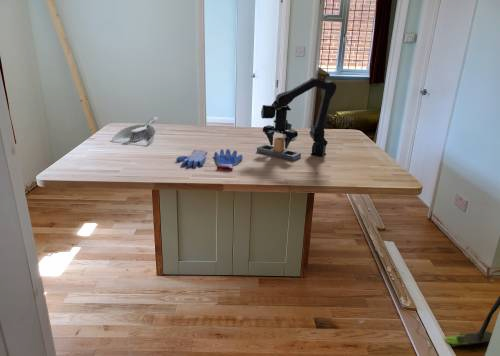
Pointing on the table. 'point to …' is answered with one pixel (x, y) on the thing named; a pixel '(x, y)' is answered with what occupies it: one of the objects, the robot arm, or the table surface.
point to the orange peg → (279, 144)
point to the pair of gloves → (223, 160)
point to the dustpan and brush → (137, 133)
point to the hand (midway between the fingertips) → (278, 147)
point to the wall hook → (289, 130)
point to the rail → (284, 155)
